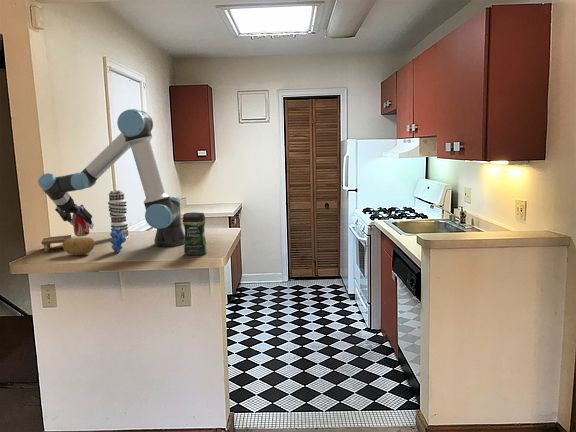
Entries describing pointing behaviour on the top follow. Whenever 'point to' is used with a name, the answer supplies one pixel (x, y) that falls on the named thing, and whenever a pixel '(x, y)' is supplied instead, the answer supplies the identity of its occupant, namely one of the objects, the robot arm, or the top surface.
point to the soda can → (80, 226)
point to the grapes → (117, 239)
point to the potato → (78, 245)
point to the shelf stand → (54, 241)
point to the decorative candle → (118, 212)
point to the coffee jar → (194, 233)
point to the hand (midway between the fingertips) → (85, 227)
